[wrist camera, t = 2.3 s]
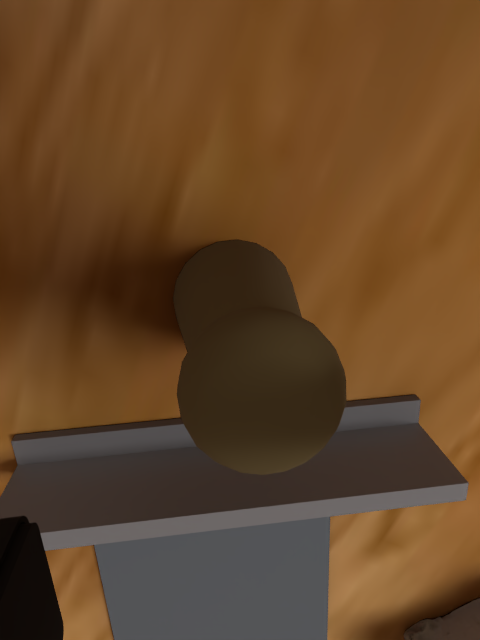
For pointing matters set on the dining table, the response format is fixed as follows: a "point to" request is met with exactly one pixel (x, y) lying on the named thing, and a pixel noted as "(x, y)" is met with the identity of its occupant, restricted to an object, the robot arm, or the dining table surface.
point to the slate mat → (220, 583)
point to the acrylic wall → (219, 478)
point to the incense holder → (449, 625)
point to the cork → (253, 363)
